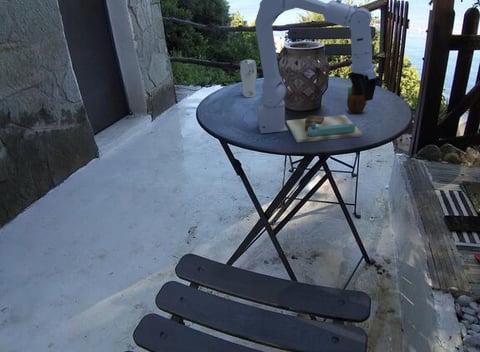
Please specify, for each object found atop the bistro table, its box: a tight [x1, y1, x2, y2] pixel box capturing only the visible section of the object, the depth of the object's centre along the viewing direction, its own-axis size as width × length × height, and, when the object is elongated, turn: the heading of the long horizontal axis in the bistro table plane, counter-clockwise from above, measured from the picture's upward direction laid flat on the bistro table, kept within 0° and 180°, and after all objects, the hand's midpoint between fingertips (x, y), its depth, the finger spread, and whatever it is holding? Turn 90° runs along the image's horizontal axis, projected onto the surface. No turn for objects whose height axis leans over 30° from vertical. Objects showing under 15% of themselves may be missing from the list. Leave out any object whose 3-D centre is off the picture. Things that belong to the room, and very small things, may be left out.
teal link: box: [308, 122, 356, 136], centre depth 122 cm, size 16×4×4 cm, turn 96°
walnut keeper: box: [305, 115, 325, 131], centre depth 126 cm, size 4×5×4 cm
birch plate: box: [285, 114, 363, 143], centre depth 129 cm, size 22×17×1 cm
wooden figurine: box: [346, 85, 367, 114], centre depth 137 cm, size 7×6×15 cm
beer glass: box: [240, 59, 257, 98], centre depth 162 cm, size 7×7×15 cm
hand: (363, 97), depth 115 cm, fingers open, 7 cm apart
